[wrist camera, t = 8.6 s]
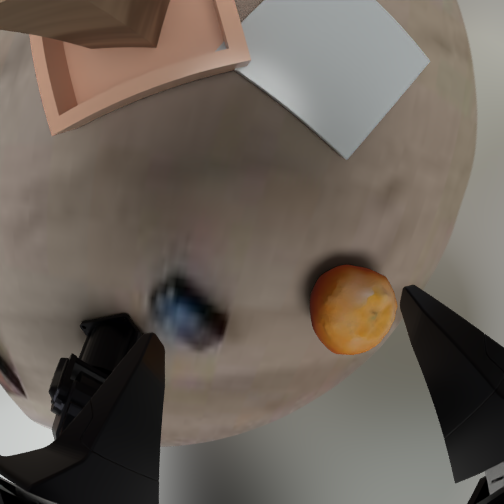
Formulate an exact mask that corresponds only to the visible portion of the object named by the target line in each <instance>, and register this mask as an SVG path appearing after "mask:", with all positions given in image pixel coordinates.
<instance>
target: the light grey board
mask: <svg viewBox="0 0 504 504" xmlns="http://www.w3.org/2000/svg"><path fill="white" fill-rule="evenodd" d="M241 25H242V28H243V32H244V36H245V39H246V43H247V46H248V50H249V54H250V57H251V61H250V63H249V64H248V65H247V66H245V67H240V68H236V69H234V71H236V72H237V73H239V74H240V75H242V76H243V77H244V78H246V79H247V80H249V81H250V82H252V83H253V84H254V85H256V86H257V87H258V88H260V89H261V90H263V91H264V92H265V93H267V94H268V95H269V96H271V97H272V98H273V99H274V100H276V101H277V102H278V103H280V104H281V105H282V106H283V107H285V108H286V109H287V110H288V111H290V112H291V113H292V114H293V115H295V116H296V117H297V118H298V119H299V120H301V121H302V122H303V123H304V124H305V125H307V126H308V127H309V128H310V129H311V130H312V131H314V132H315V133H316V134H317V135H318V136H319V137H320V138H321V139H323V140H324V141H325V142H326V143H327V144H328V145H329V146H330V147H331V148H333V149H334V150H335V151H336V152H337V153H338V154H339V155H340V156H341V157H342V158H344V159H346V160H347V159H348V158H349V157H350V156H351V155H352V153H353V152H354V151H355V150H356V149H357V148H358V146H359V145H360V144H361V143H362V142H363V141H364V139H365V138H366V137H367V136H368V135H369V134H370V132H371V131H372V130H373V129H374V128H375V126H376V125H377V124H378V123H379V122H380V121H381V119H382V118H383V117H384V116H385V115H386V113H387V112H388V111H389V110H390V109H391V108H392V106H393V105H394V104H395V103H396V102H397V100H398V99H399V98H400V97H401V96H402V94H403V93H404V92H405V91H406V90H407V89H408V87H409V86H410V85H411V84H412V83H413V81H414V80H415V79H416V78H417V77H418V75H419V74H420V73H421V72H422V70H423V69H424V68H425V67H426V66H427V64H428V63H429V62H430V60H429V59H428V58H427V56H426V55H425V54H424V53H423V51H422V50H421V49H420V48H419V46H418V45H417V44H416V43H415V42H414V40H413V39H412V38H411V37H410V36H409V35H408V33H407V32H406V31H405V30H404V29H403V28H402V27H401V26H400V24H399V23H398V22H397V21H396V20H395V19H394V18H393V17H392V16H391V15H390V14H389V13H388V12H387V11H386V10H385V9H384V8H383V7H382V6H381V5H380V4H379V3H378V2H377V1H376V0H264V1H263V2H262V3H261V4H260V5H259V6H258V7H257V8H256V9H255V10H254V11H253V12H252V13H251V14H250V15H249V16H248V17H247V18H246V19H245V20H244V21H243V22H242V23H241ZM224 49H226V46H225V42H223V43H222V44H221V45H220V46H219V48H218V49H217V50H216V51H220V50H224ZM216 51H215V52H216Z"/></svg>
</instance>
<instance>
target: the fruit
mask: <svg viewBox="0 0 504 504" xmlns="http://www.w3.org/2000/svg"><path fill="white" fill-rule="evenodd" d="M396 309H397V302H396V298H395V294H394V291H393V289H392V287H391V285H390V283H389V281H388V279H387V278H386V277H385V276H383V275H381V274H379V273H377V272H375V271H373V270H371V269H368V268H364V267H358V266H353V265H341V266H337V267H335V268H333V269H331V270H329V271H327V272H325V273H324V274H322V275H321V276H320V277H319V278H318V280H317V282H316V284H315V286H314V288H313V290H312V292H311V295H310V315H311V321H312V326H313V329H314V331H315V333H316V335H317V336H318V338H319V339H320V341H321V342H322V343H323V344H324V345H325V346H326V347H327V348H328V349H329V350H330V351H332V352H333V353H336V354H346V355H354V354H359V353H363V352H366V351H368V350H370V349H371V348H373V347H375V346H376V345H377V344H379V343H380V342H381V340H382V339H383V338H384V336H385V335H386V334H387V333H388V332H389V330H390V328H391V325H392V323H393V321H394V319H395V314H396Z"/></svg>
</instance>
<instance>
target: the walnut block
mask: <svg viewBox="0 0 504 504" xmlns="http://www.w3.org/2000/svg"><path fill="white" fill-rule="evenodd" d="M169 2H170V0H0V30H7V31H14V32H20V33H26V34H32V35H37V36H42V37H47V38H51V39H56V40H60V41H64V42H68V43H72V44H75V45H79V46H83V47H86V48H90V49H99V48H121V47H146V48H157V44H158V40H159V37H160V33H161V29H162V25H163V22H164V18H165V15H166V12H167V8H168V5H169Z"/></svg>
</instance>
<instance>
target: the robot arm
mask: <svg viewBox="0 0 504 504" xmlns="http://www.w3.org/2000/svg"><path fill="white" fill-rule="evenodd" d="M400 309H401V312H402V315H403V318H404V322H405V325H406V328H407V331H408V335H409V338H410V341H411V345H412V347H413V350H414V352H415V355H416V357H417V360H418V362H419V365H420V367H421V370H422V373H423V375H424V378H425V381H426V383H427V386H428V389H429V392H430V395H431V397H432V401H433V403H434V407H435V409H436V413H437V416H438V419H439V422H440V426H441V429H442V432H443V436H444V438H445V439H444V440H445V444H446V447H447V451H448V455H449V459H450V463H451V467H452V472H453V476H454V481H455V483H458V482H460V481H463V480H465V479H468V478H470V477H473V476H475V475H477V474H480V473H482V472H484V471H485V474H486V476H484V477H483V478H481V479H480V480H479V482H478V484H477V486H476V488H475V490H474V492H473V494H472V496H471V498H470V500H469V501H468V503H467V504H504V347H502V346H501V345H499V344H498V343H497V342H495V341H494V340H493V339H491V338H490V337H489V336H487V335H486V334H485V335H484V333H483V332H482V331H480V330H479V329H478V328H476V327H475V326H473V325H472V324H471V323H469V322H468V321H467V320H465V319H464V318H462V317H461V316H459V315H458V314H456V313H455V312H454V311H452V310H451V309H449V308H448V307H446V306H445V305H444V304H442V303H441V302H439V301H438V300H436V299H435V298H433V297H432V296H430V295H429V294H427V293H426V292H424V291H423V290H421V289H420V288H418V287H417V286H415V285H409V286H406V287H404V288H403V290H402V295H401V300H400ZM124 318H125V319H124ZM80 327H81V329H82V330H83V332H84V333H85V334H86V335H87V338H86V341H85V343H84V346H83V348H82V351H81V353H80V356H79V358H77V356H76V355H74V354H73V353H72V354H71V356H70V358H69V359H68V358H61V359H60V361H59V363H58V366H57V368H56V371H55V373H54V376H53V379H52V382H51V385H50V389H49V394H50V396H51V399H52V400H51V403H52V406H51V412H53V413H55V414H56V417H55V420H54V423H53V427H52V432H53V435H54V439H55V441H54V442H53V443H51V444H50V445H48V446H47V447H44V448H41V449H38V450H34V451H30V452H26V453H21V454H17V455H12V456H1V455H0V474H1V475H2V476H4V477H5V478H7V479H8V480H10V481H11V482H13V483H14V484H13V483H11V482H9V481H7V480H5V479H3V478H1V477H0V504H159V461H160V460H159V459H160V441H161V426H162V413H163V401H164V390H165V349H164V346H163V344H162V343H161V341H160V340H159V339H158V337H157V336H156V334H155V333H145V334H143V335H141V333H140V332H139V331H138V329H137V328H136V326H135V325H134V323H133V322H132V320H131V319H130V317H129V316H128V315H127V314H119V315H114V316H109V317H104V318H99V319H94V320H89V321H83V322H81V325H80Z"/></svg>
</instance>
